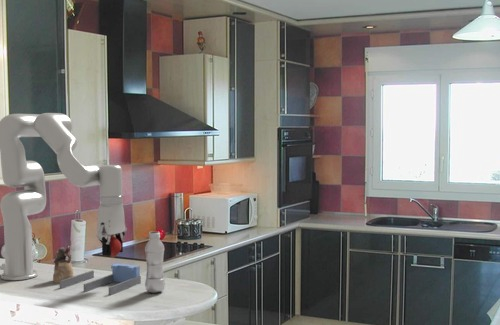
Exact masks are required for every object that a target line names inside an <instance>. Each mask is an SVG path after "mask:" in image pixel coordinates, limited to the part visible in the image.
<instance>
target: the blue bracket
mask: <svg viewBox="0 0 500 325" xmlns="http://www.w3.org/2000/svg"><path fill="white" fill-rule="evenodd" d="M110 269H111V272H112V273H111V274H113V283H114V282H115V283H121V282H124V281H126V280H129V279H132V278H134V277H138V276H141V275H140V274H141V272H140V265H135V264H133V265H132V264H125V263H124V264H123V263H113V264H112V265H111V266H110Z"/></svg>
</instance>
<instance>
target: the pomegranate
mask: <svg viewBox="0 0 500 325" xmlns="http://www.w3.org/2000/svg"><path fill="white" fill-rule="evenodd" d="M109 244H111V256H109V257H110V258H112V259H114V258H115V257H116V256H117V255H118V254H119V253H121V252H120V251H121V243H120V241H119V240H118V239H117V238H115V236H114V235H111V238H110V243H109Z"/></svg>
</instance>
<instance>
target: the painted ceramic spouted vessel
mask: <svg viewBox="0 0 500 325" xmlns="http://www.w3.org/2000/svg"><path fill="white" fill-rule="evenodd" d="M70 250H71V248H70V247H67V248H65V247H63V246H62V247H59V249H58V250H57V251H56V252H55V255H54V257H53V258H54V261H53V264H54V268H53V269H54V270H53V275H52V277H53V278H52V279H53V283H55V284H60V281H61V280H65V279H68V278H71V277H74V276H75V274H74V269H73V265H72V262H71V260H72V255H71V253H70Z"/></svg>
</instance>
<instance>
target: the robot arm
mask: <svg viewBox="0 0 500 325" xmlns="http://www.w3.org/2000/svg"><path fill="white" fill-rule="evenodd" d="M72 130H73V122H72V120H71V118H70V117H69V116H68V115H67V114H65V113H61V112H44V113H43V112H42V113H41V114H40V113H39V114H38V113H11V114H7V115H5V116H4V117H2V118H1V119H0V164H1V176H2V182H3V184H4V185H5V186H6V187H7V188H23V189H22V190H16V191H10V192H9V193H6V194H4V195H3V197H2V198H1V201H0V212H1V217H2V221H3V234H4V237H3V238H4V261H5V262H3V263H2V264H1V265H0V270H3V273H2V274H0V279H2V280H4V281H23V280H28V279H33V278H35V277H37V276H38V271H37V270H35V269H34V264H33V263H34V261H33V259H34V258H33V257H34V256H33V231H32V230H33V228H32V224H31V221H30V220H29V218H28V216H33V215H36V214H41V213H42V212H44V210H45V209H46V207H47V206H46V205H47V191H46V180H45V172H44V169H43V167H42V165H41V164H40V163H39V162H37V161H35V160H27V158H26V149H25V147H24V144H23V142H22V141H21V140H20V138H37V137H38V138H39V137H40V138H41V139H42V140H43V141H44V142H45V143H46V144H47V145H48V146H49V148H50V149H51V150H52V151H53V152H54V153H55V154H56V160H57V164H58V168H59V170H60V172H61V173H62V174H63V175H64V177H65V178H66V179H67V180H68V181H69V182H70V183H71V184H72V185H73V186H75V187H78V188H88V187H95V186H99V206H98V210H97V219H96V221H97V222H96V223H97V224H96V232H97V233H96V235H95V236H96V237H97V238H98V240H99V242H100V244H101V248H102V249H101V253H102V254H101V255H102V256H106V257H110V256H111V244H109V243H110V238H111V235H114V237H115V238H117V239H118V240H119V241H120V243H121V251H120V252H119V253H123V250H124V246H123V245H124V244H123V241H124V239H125V238H124V237H125V235H126V232H127V230H128V228H127V226H126V220H125V219H126V218H125V209H124V202H123V201H124V200H123V168H122V167H121V165H118V164H102V163H101V164H100V163H87V164H81V162H80V161H79V160H78V159H77V158H76V157H75V156H74V153H73V151H75V149H76V147H77V145H78V140H77V138H76V137H75V136H74V135H73V133H71V132H72Z"/></svg>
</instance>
